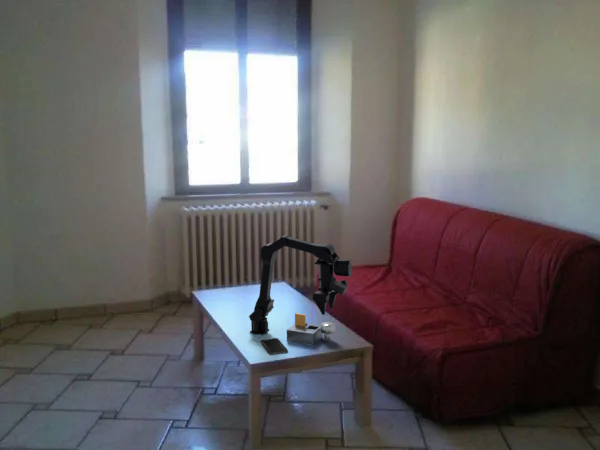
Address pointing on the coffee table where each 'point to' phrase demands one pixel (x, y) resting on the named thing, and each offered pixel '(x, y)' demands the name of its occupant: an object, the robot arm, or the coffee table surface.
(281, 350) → the phone
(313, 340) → the hitch block
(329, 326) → the grey rounded piece
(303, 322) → the grey orange block
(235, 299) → the coffee table surface
